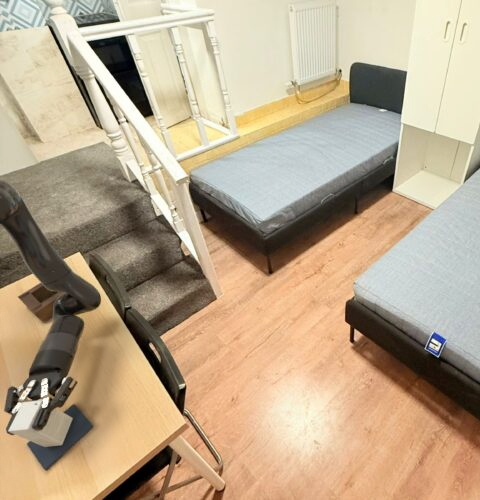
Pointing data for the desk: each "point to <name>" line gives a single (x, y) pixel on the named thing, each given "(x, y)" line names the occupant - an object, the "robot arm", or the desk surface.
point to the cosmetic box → (49, 434)
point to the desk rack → (35, 298)
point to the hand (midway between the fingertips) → (24, 431)
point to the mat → (74, 434)
